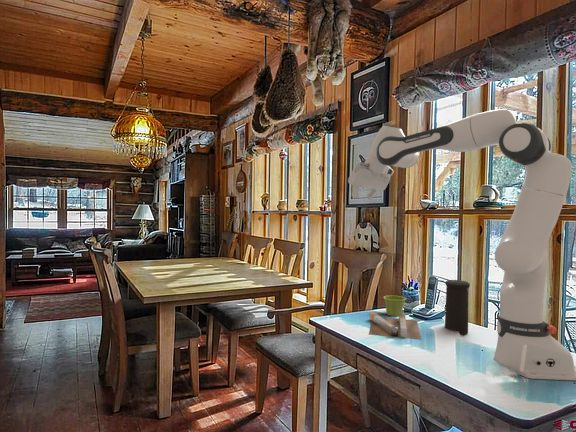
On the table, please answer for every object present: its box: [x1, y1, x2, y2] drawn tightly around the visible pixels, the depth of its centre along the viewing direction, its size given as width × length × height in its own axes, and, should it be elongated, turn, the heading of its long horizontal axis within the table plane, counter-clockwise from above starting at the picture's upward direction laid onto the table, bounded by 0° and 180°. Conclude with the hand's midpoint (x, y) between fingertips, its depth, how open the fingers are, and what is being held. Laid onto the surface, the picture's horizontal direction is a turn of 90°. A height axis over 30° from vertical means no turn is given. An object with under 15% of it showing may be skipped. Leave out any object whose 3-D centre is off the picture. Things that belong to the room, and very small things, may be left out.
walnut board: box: [368, 316, 422, 341], centre depth 147 cm, size 18×25×2 cm
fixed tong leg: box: [398, 313, 408, 339], centre depth 145 cm, size 2×22×3 cm, turn 165°
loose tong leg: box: [369, 312, 398, 336], centre depth 146 cm, size 2×22×3 cm, turn 10°
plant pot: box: [383, 295, 407, 317], centre depth 167 cm, size 9×9×9 cm
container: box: [444, 279, 471, 336], centre depth 147 cm, size 9×9×20 cm
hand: (361, 197), depth 154 cm, fingers open, 8 cm apart
